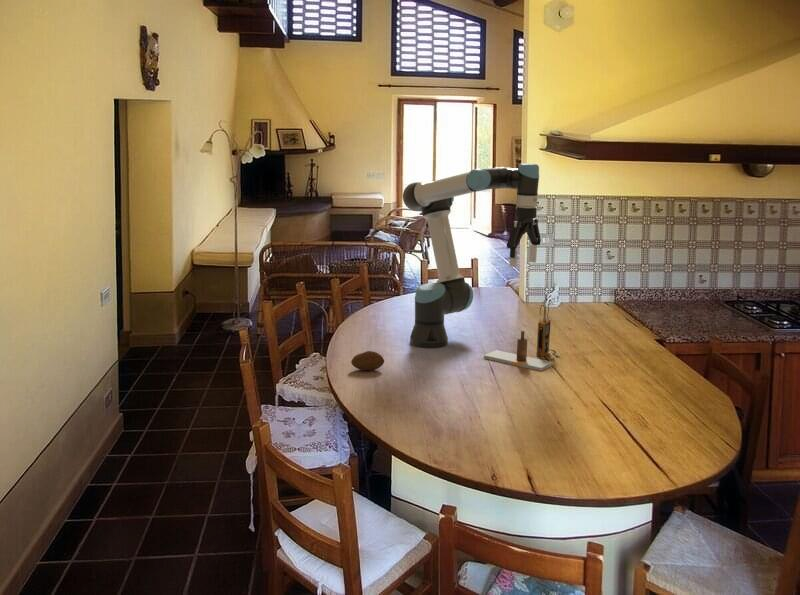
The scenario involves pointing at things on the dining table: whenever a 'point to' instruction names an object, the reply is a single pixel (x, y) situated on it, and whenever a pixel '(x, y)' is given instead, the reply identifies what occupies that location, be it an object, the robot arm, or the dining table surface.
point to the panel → (511, 359)
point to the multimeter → (544, 336)
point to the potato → (367, 361)
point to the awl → (521, 348)
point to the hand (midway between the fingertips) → (522, 264)
